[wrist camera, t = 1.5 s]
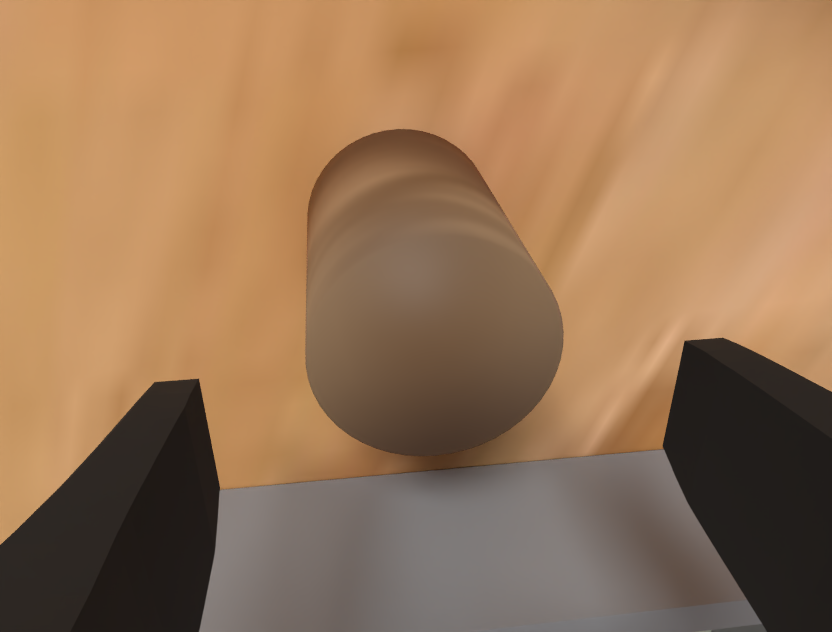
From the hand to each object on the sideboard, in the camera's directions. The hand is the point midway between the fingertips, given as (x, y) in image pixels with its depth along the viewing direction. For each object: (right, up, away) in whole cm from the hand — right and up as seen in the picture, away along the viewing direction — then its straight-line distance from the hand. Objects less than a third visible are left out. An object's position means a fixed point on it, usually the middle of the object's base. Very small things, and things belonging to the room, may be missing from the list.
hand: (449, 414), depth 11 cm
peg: (-1, +4, +7) cm, 8 cm away
